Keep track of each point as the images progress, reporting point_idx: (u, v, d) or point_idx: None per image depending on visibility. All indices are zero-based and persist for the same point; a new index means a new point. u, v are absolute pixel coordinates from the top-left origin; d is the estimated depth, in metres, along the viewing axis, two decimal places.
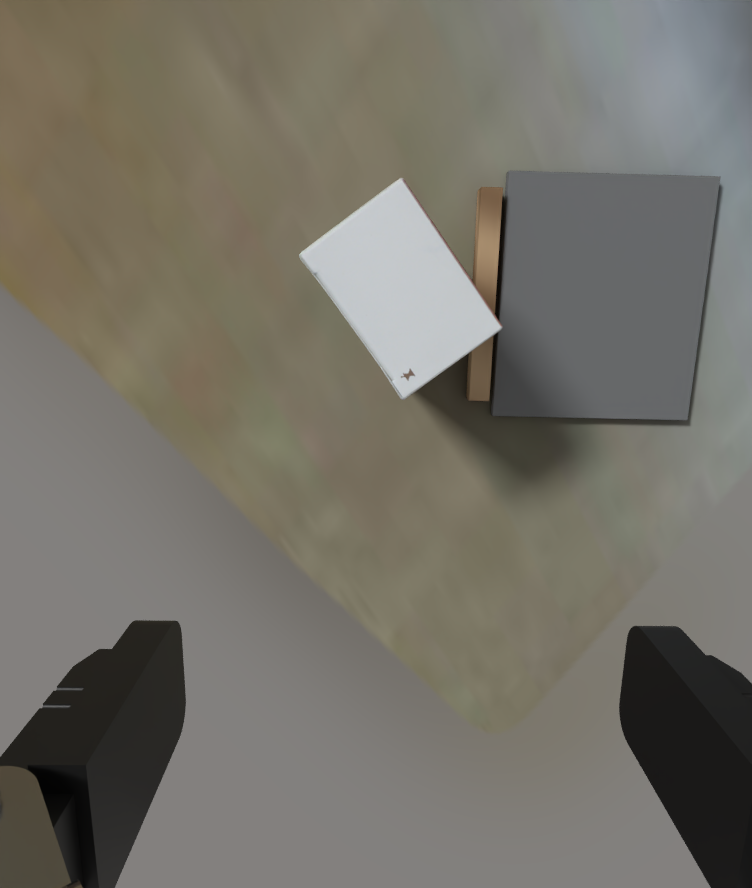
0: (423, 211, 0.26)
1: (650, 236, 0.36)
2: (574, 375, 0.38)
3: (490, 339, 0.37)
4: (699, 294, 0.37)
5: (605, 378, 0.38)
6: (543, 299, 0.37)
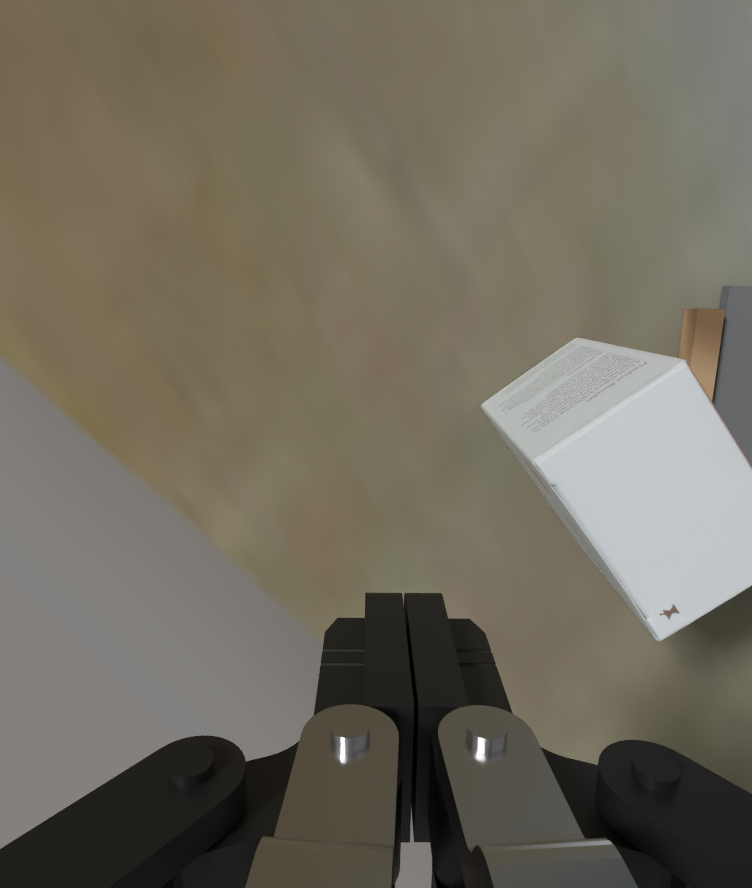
0: (711, 404, 0.19)
1: None
2: None
3: None
4: None
5: None
6: None
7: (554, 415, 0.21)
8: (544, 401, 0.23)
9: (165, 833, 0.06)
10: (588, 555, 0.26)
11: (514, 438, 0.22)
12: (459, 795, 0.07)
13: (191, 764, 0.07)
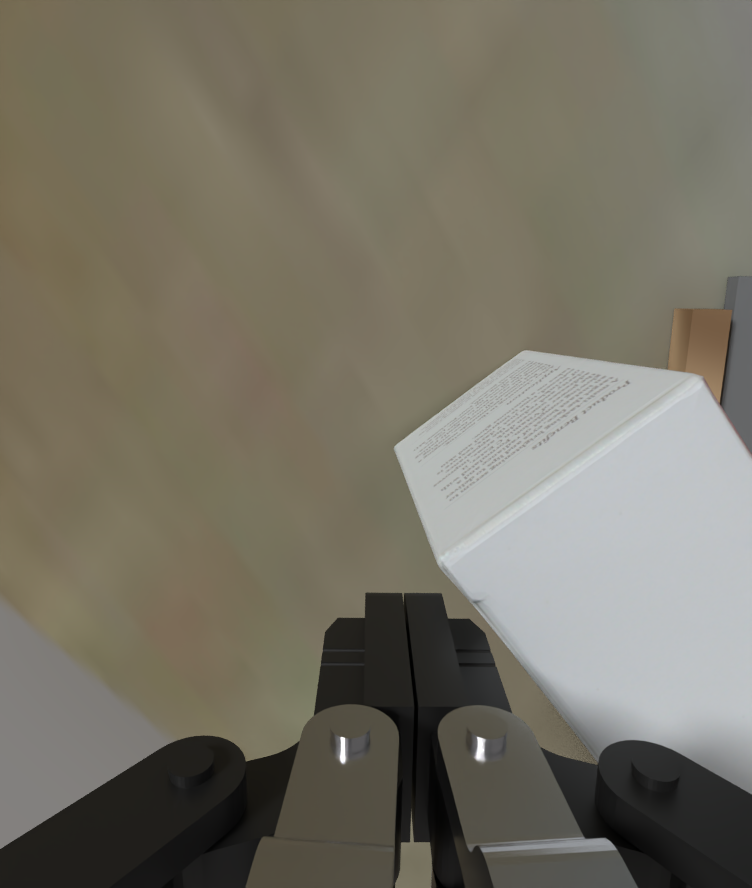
0: (748, 453, 0.11)
1: None
2: None
3: None
4: None
5: None
6: None
7: (482, 471, 0.13)
8: (471, 446, 0.15)
9: (165, 833, 0.06)
10: None
11: (420, 508, 0.14)
12: (459, 795, 0.07)
13: (191, 764, 0.07)
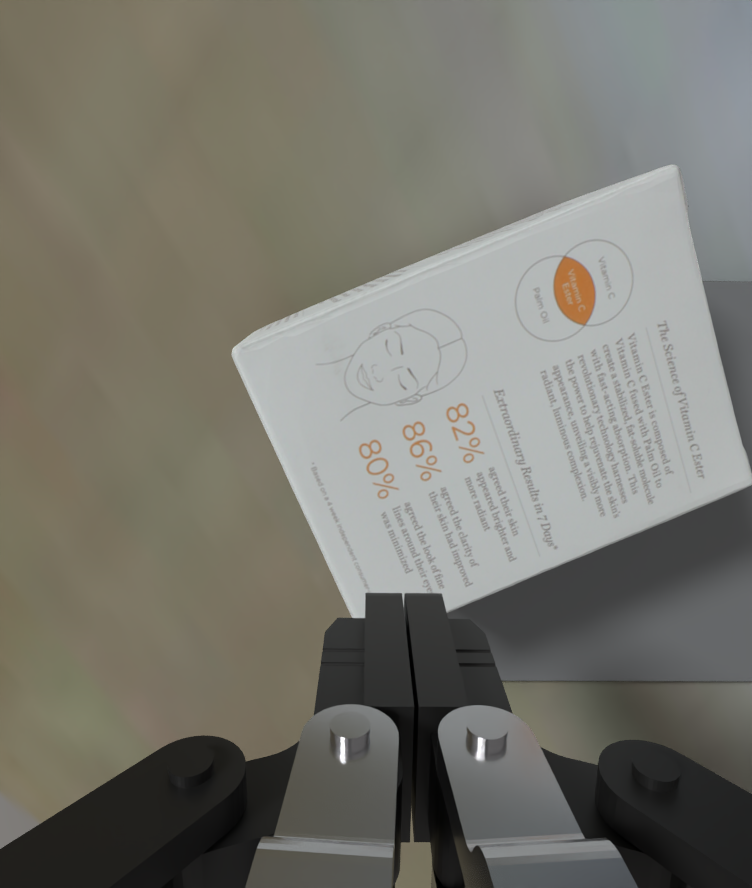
0: None
1: None
2: (580, 615, 0.22)
3: None
4: None
5: (634, 619, 0.22)
6: None
7: (547, 211, 0.15)
8: (466, 245, 0.15)
9: (165, 833, 0.06)
10: (524, 552, 0.15)
11: (549, 215, 0.13)
12: (459, 795, 0.07)
13: (191, 764, 0.07)
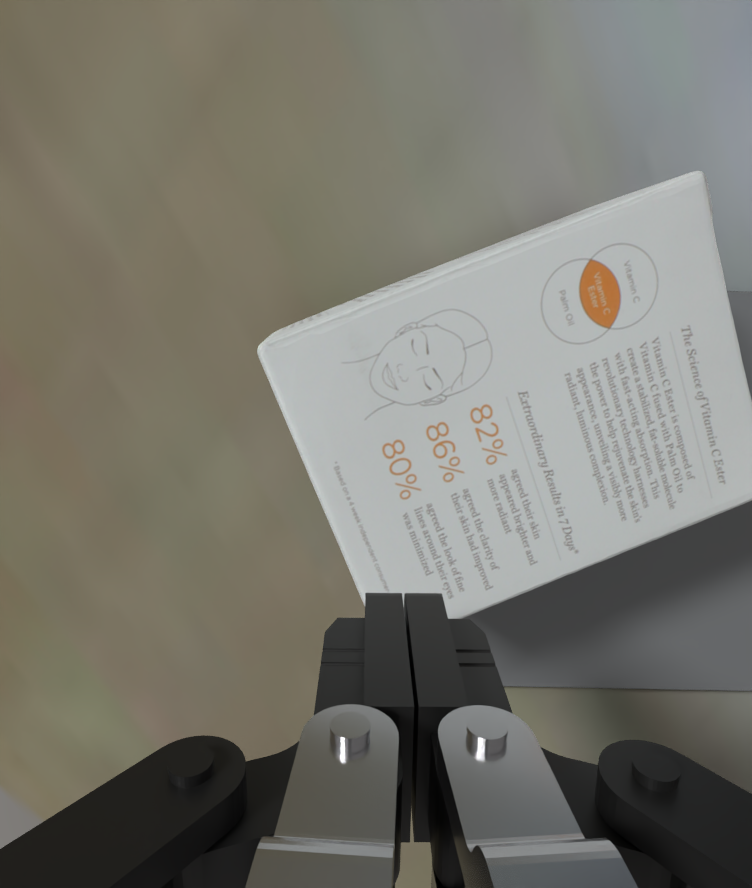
0: None
1: None
2: (590, 622, 0.22)
3: None
4: None
5: (643, 627, 0.22)
6: None
7: (572, 216, 0.15)
8: (489, 248, 0.15)
9: (165, 833, 0.06)
10: (545, 555, 0.15)
11: (576, 218, 0.13)
12: (459, 795, 0.07)
13: (192, 764, 0.07)
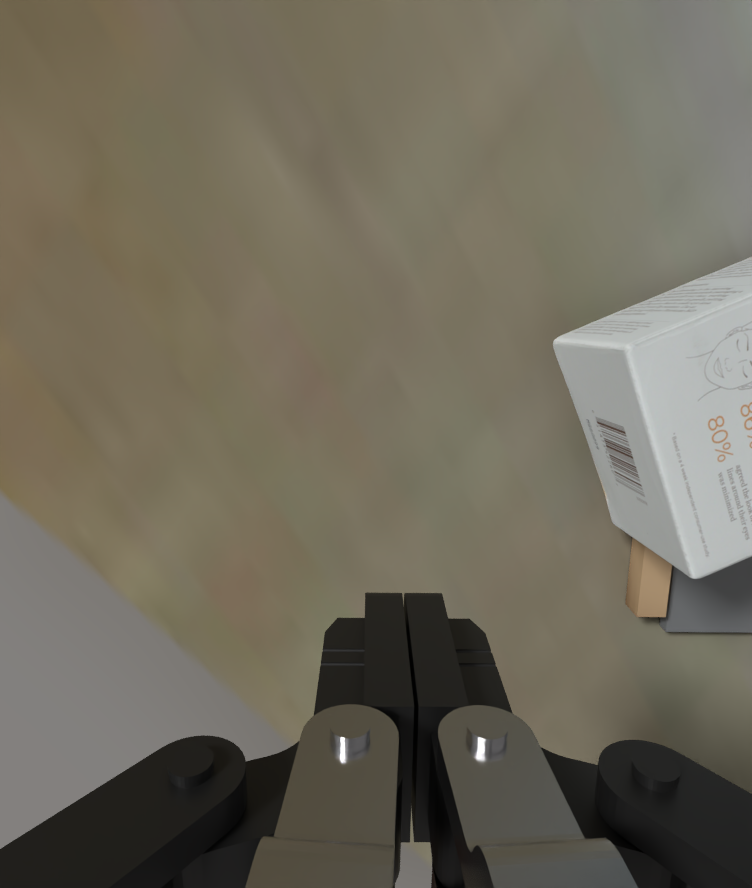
0: None
1: None
2: None
3: None
4: None
5: None
6: None
7: None
8: None
9: (165, 833, 0.06)
10: None
11: None
12: (459, 795, 0.07)
13: (191, 764, 0.07)
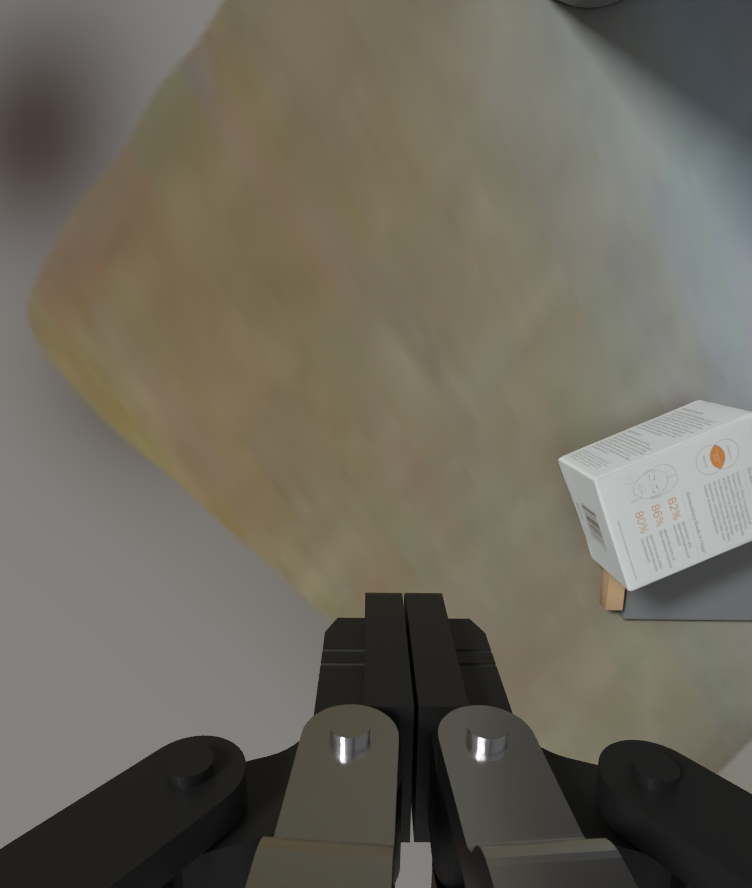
0: None
1: None
2: (692, 587, 0.45)
3: None
4: None
5: (718, 589, 0.45)
6: None
7: (702, 421, 0.38)
8: (669, 433, 0.38)
9: (165, 833, 0.06)
10: (693, 554, 0.38)
11: (709, 430, 0.36)
12: (459, 795, 0.07)
13: (191, 764, 0.07)
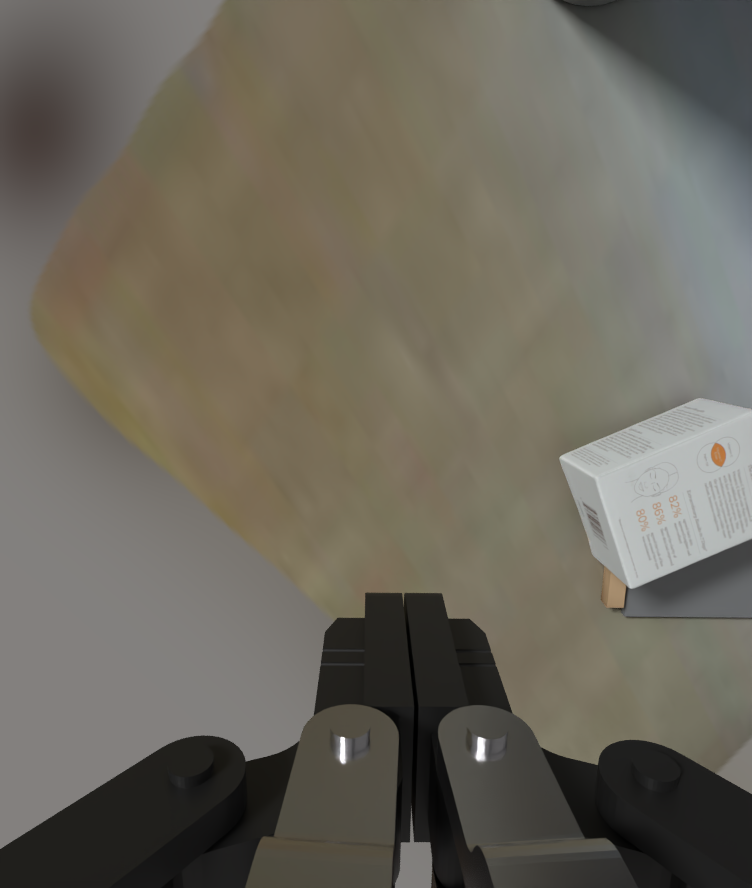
0: None
1: None
2: (693, 584, 0.45)
3: None
4: None
5: (719, 586, 0.45)
6: None
7: (703, 419, 0.38)
8: (670, 431, 0.38)
9: (165, 833, 0.06)
10: (694, 552, 0.38)
11: (710, 428, 0.37)
12: (459, 795, 0.07)
13: (191, 764, 0.07)
